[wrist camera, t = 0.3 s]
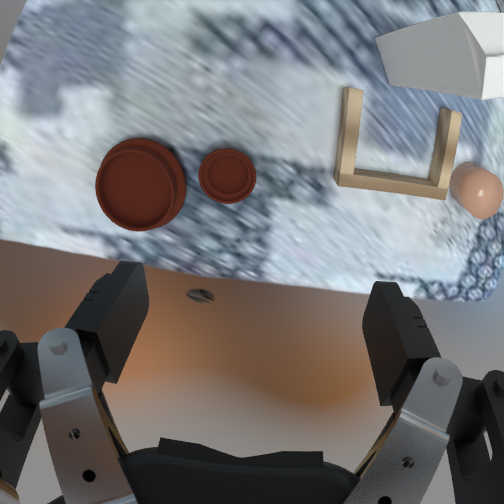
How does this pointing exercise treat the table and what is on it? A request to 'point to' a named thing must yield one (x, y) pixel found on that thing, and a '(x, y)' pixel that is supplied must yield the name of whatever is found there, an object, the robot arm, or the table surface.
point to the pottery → (164, 182)
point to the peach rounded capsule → (476, 190)
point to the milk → (448, 55)
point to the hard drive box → (501, 5)
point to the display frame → (387, 181)
